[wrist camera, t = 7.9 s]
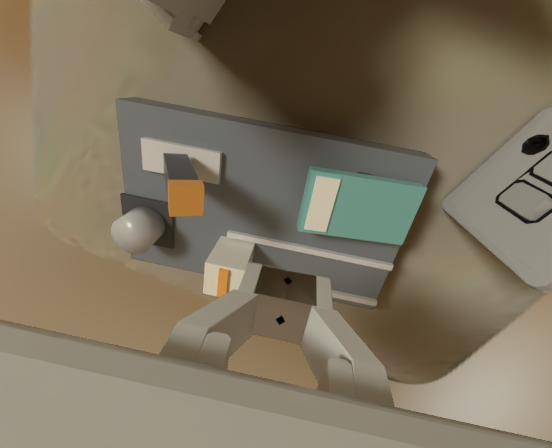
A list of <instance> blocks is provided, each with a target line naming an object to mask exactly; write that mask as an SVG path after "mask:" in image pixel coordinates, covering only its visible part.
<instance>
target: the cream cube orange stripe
mask: <svg viewBox="0 0 552 448" xmlns="http://www.w3.org/2000/svg"><path fill="white" fill-rule="evenodd" d="M254 247H255V243H253V242H248V241H243V240H238V239H234V238H229V237H224V236H221V237H220V238H219V240H218V242H217V243H216V245H215V247H214V248H213V250H212V251H211V253H210V255H209V256H208V258H207V260H206V261H205V268H204V287H203V293H204V294H209V295H213V296H217V297H221V296H223V295H225V294H226V293H228V292H230V291H232V290H233V289H236V290H238V288H239V285H240V283H241V280H242V277H243V275H244V272H245V269H246V267H247V264H248V262H249V261H250V262H252V260H253V253H254Z"/></svg>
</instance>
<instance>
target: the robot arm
mask: <svg viewBox="0 0 552 448" xmlns="http://www.w3.org/2000/svg"><path fill="white" fill-rule="evenodd" d="M252 335H257V336H262V337H268V338H273V339H277V340H282V341H286V342H290V343H294V344H298V345H300V347H301V349H302V351H303V353H304V355H305V358H306V360H307V362H308V363H309V366H310V368H311V370H312V372H313V374H314V376H315V378H316V380H317V382H318V387H317V389H311V388H307V387H302V386H297V385H293V384H289V383H284V382H280V381H275V380H271V379H266V378H261V377H257V376H253V375H248V374H243V373H239V372H234V371H230V370H227V368H228V360H229V357H230V356H231V355H232V354H233V353H234V352H236V351H237V350H238V349H239V347H241V346H242V345H243V344H244V343H245V342H246V341H247V340H248V339H249V338H250V337H251V336H252ZM0 448H552V442H550V441H545V440H541V439H536V438H532V437H527V436H523V435H518V434H514V433H509V432H505V431H500V430H496V429H491V428H487V427H482V426H478V425H473V424H469V423H464V422H459V421H455V420H451V419H446V418H442V417H437V416H433V415H428V414H424V413H419V412H415V411H410V410H405V409H401V408H397V407H394V402H393V398H392V394H391V390H390V387H389V382H388V378H387V374H386V370H385V367H384V366H383V365H382V363H381V362H380V361H379V360H378V359H377V357H376V356H375V355H374V354H373V353H372V352H371V350H370V349H369V348H368V347H367V346H366V344H365V343H364V342H363V341H362V340H361V338H360V337H359V336H358V335H357V334H356V333H355V331H354V330H353V329H352V328H351V327H350V325H349V324H348V323H347V322H346V321H345V319H344V318H343V317H342V316H341V315H340V313H339V312H338V311H335V310H333V301H332V289H331V279H330V278H328V277H323V276H317V275H316V276H314V275H309V274H304V273H300V272H295V271H290V270H286V269H282V268H278V267H273V266H269V265H265V264H263V265H262V264H260V263H255V262H250V261H249V262H248V264H247V267H246V269H245V272H244V275H243V277H242V280H241V283H240V285H239V288H238V290H236V289H233V290H232V291H230V292H228V293H226V294H225V295H223V296H221V297H220V298H218V299H216V300H215V301H213V302H211V303H210V304H208V305H206V306H204V307H203V308H201V309H200V310H198V311H196V312H194V313H192V314H191V315H189V316H187V317H186V318H184V319H182V320H181V321H179V322H178V323H177V325H176V326H175V328H174V330H173V331H172V333H171V335H170V337H169V338H168V340H167V342H166V344H165V345H164V347H163V349H162V351H161V352H160V354H159V355H158V354H153V353H149V352H144V351H140V350H135V349H131V348H127V347H122V346H118V345H113V344H108V343H104V342H99V341H95V340H90V339H86V338H81V337H77V336H72V335H68V334H63V333H59V332H54V331H50V330H45V329H41V328H36V327H32V326H27V325H23V324H18V323H13V322H9V321H4V320H0Z"/></svg>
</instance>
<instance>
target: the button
mask: <svg viewBox="0 0 552 448" xmlns="http://www.w3.org/2000/svg"><path fill="white" fill-rule="evenodd" d="M164 231H165V222H164V220H163V218H162V216H161V215H160V214H159V213H158V212H157V211H156V210H154V209H153V208H150V207H148V206H137V207H135V208H134V209H132V210H131V211H129V212H128V213H126V214H125V215H123V216H122V217H120V218H119V219H118V220H116V221H115V222H114V223H113V224H112V227H111V234H112V237H113V239H114V241H115V242H116V244H117V245H118V246H119V247H120V248H122V249H123V250H125V251H127V252H129V253H133V254H141V253H144V252H146V251H147V250H148V249H149V248H150V247H151V246H152V245H153V244H154V243H155V242H156V241H157V240H158V239H159V238H160V237H161V236H162V235H163V233H164Z"/></svg>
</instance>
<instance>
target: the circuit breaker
mask: <svg viewBox="0 0 552 448" xmlns="http://www.w3.org/2000/svg"><path fill="white" fill-rule="evenodd" d="M140 1H141V2H142V3H143V4H144V5H145V6H146V7H147V9H148V10H149V11H150V12H151V13H152V14H153V15H154V16H155V17H156V18H157V19H158V20H159V21H160V22H161V23H162V24H163V25H164V26H165V27H166V28H167V29H168V30H169V31H172V32H175V33H177V34H180V35H183V36H185V37H188V38H190V37H191V36H193V37H194V38H195V40H196V41H199V40H200V39H201V37H202V35H201V34H200V33H199V32H198V31H199V29H200V28H201V26H202V25H203V23H204V22H206V23H208V24H209V25H210V24H211V22H212V21H213V19H214V18H215V16H216V15H217V13H218V12H219V10H220V9H221V7H222V6H223V4H224V3H225V1H226V0H140Z"/></svg>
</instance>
